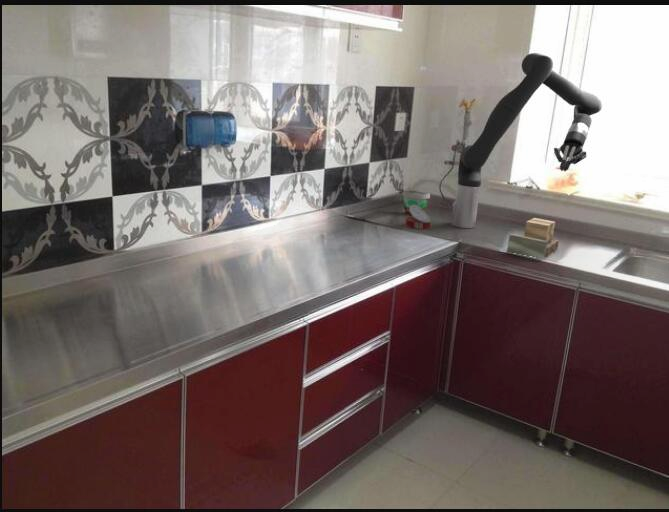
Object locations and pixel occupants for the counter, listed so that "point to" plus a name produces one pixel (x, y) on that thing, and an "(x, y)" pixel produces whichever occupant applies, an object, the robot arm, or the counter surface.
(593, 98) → the robot arm
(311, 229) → the counter surface
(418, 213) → the canned food
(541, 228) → the cardboard box
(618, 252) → the counter surface
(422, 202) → the food container
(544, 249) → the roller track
